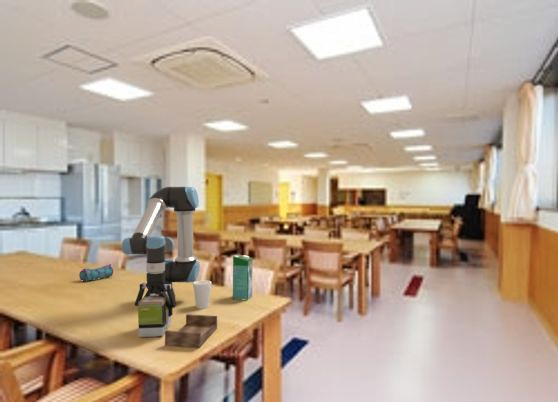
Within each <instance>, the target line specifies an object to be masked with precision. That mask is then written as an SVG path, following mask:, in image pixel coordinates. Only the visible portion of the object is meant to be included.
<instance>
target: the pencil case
mask: <svg viewBox="0 0 558 402" xmlns="http://www.w3.org/2000/svg"><path fill="white" fill-rule="evenodd" d="M78 275H79V279H80V281H81V280H83V281H88V282H90V281H89V280H94V279H98V278H103V277H107V278H109V277H108V276H111V277H112V276H113V275H114V268H113V267H112V264H106V265H104V266H101V267H97V268H91V269H90V268H88V267H87V268H86V267H85V268H82V270H81V271H79V273H78ZM103 279H104V278H103ZM94 281H95V280H94Z"/></svg>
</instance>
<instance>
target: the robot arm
mask: <svg viewBox="0 0 558 402" xmlns="http://www.w3.org/2000/svg"><path fill="white" fill-rule="evenodd" d="M168 208H173V212H174V213H175V214H176V230H177V231H176V234H177V236H176V238H177V242H176V243H177V256H176V257H175V259H174V260H173V258H166V255H167V254H170V253H172V251H174V248H175V246H176V245H175V241H174V239H173V238H171V237H168V236H166V237H165V236H164V235H152V233H153V231H154V229H155V227H156V225H157V223H158V221H159V219H160V217H161V214H162V213H163V212H164V211H165V210H166V209H168ZM197 208H199V194H198V191H197V189H196V188H195V187H193V186H166V187H162V188H159V189H158V190H157V191H155V192H154V193H153V194H152V195H151V196H150V197H149V199H148V201H147V207H146V209H145V211H144V213H143V215H142V217H141V219H140V221H139V223H138V225H137V226H136V228H135V229H134V232H133V234H132V235H131V236H130V237H125V238H123V240H122V242H121V251H122V252H123V254H125V255H146V272H147V273H146V283H145V282H142V283H140V284H139V290H138V293H137V296H136V299H135V302H134V306H135V307H138V302H139V301H140V300H141V299H142V298H143V297H148V296H149V295H151V294H159V295H160V296H161V297H164V298H165V297H166V299H165V300H166V306H167V309H166V325H168V324H169V323H172V316H173V314H174V313H173V309H174V308H176V307H177V306H178V304H177V301H176V293H175V290H174V287H173V283H187V284H188V283H194V282H196V281H197V279H198V276H199V274H200V266H201V265H200V262H199V261H197V257H196V256H195V255H194V222H193V221H194V217H193V215H194V213H195V212H196V209H197ZM146 289H147V291H146V292H145V290H146ZM166 292H167V293H168V296H167V295H166ZM144 293H145V294H144ZM168 297H169V298H168Z"/></svg>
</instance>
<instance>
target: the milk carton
mask: <svg viewBox="0 0 558 402" xmlns="http://www.w3.org/2000/svg"><path fill="white" fill-rule="evenodd" d="M251 296H252V297H253V258H252V257H250V255H249V256H248V255H245V254H244V255H242V254H240V253H239V254H238V253H237V254H235V255H233V256H232V300H234V299H245V300H244V301H249V300H250V299H249V298H250V297H251ZM252 297H251V298H252ZM248 299H249V300H248Z"/></svg>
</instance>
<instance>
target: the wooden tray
mask: <svg viewBox="0 0 558 402" xmlns="http://www.w3.org/2000/svg"><path fill="white" fill-rule="evenodd" d="M217 329H218V316H217V315H210V314H209V315H208V314H207V315H206V314H190V313H188V314H186V315H185V324H184V325H183V326H182V327H180V328H179V330H168V329H167V330H166V331H165V333H164V346H166V347H177V348H178V347H180V348H189V349H190V348H194V349H200V348H201V347H202V346H203V345H204V344H205V343H206V342H207V340H208V339H209V338H210V337H211V336H212V335H213V333H214V332H215V331H216V330H217Z"/></svg>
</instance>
